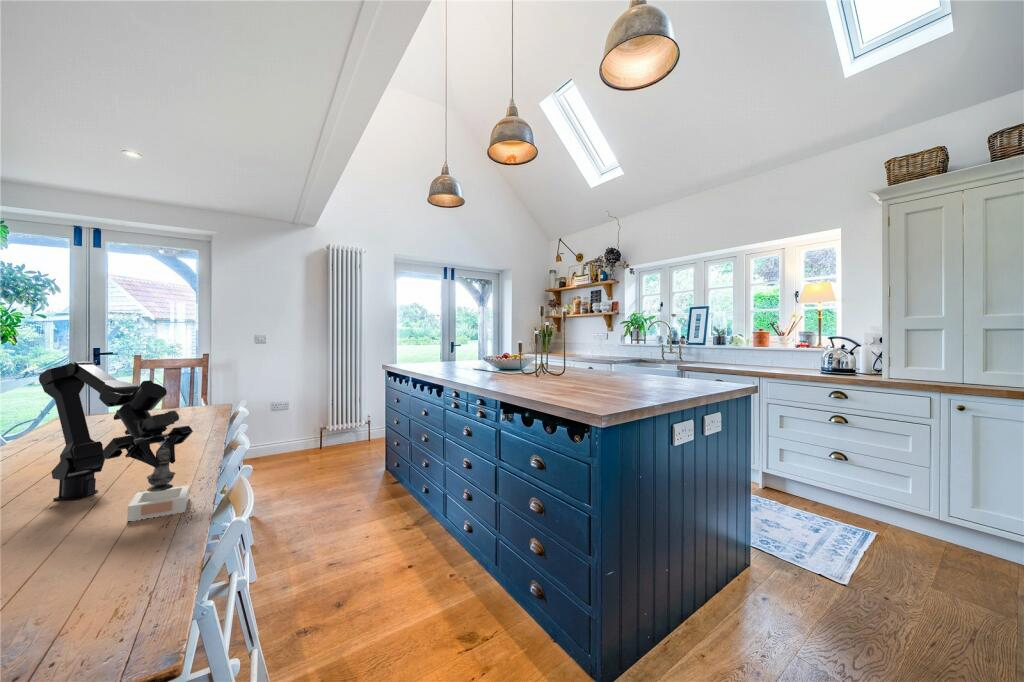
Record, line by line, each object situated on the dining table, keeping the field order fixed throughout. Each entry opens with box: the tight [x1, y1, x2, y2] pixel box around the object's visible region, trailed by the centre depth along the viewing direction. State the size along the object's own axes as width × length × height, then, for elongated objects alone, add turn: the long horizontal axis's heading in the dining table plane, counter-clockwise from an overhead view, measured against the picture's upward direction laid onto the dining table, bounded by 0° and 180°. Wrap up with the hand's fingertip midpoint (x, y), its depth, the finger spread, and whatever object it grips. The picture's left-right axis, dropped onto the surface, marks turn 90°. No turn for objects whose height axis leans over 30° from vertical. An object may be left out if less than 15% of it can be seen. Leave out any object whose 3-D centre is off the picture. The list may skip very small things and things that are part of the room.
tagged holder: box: [126, 484, 190, 523], centre depth 104 cm, size 11×12×4 cm
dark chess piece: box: [146, 445, 176, 492], centre depth 105 cm, size 6×6×12 cm
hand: (165, 464), depth 105 cm, fingers closed on dark chess piece, 4 cm apart
